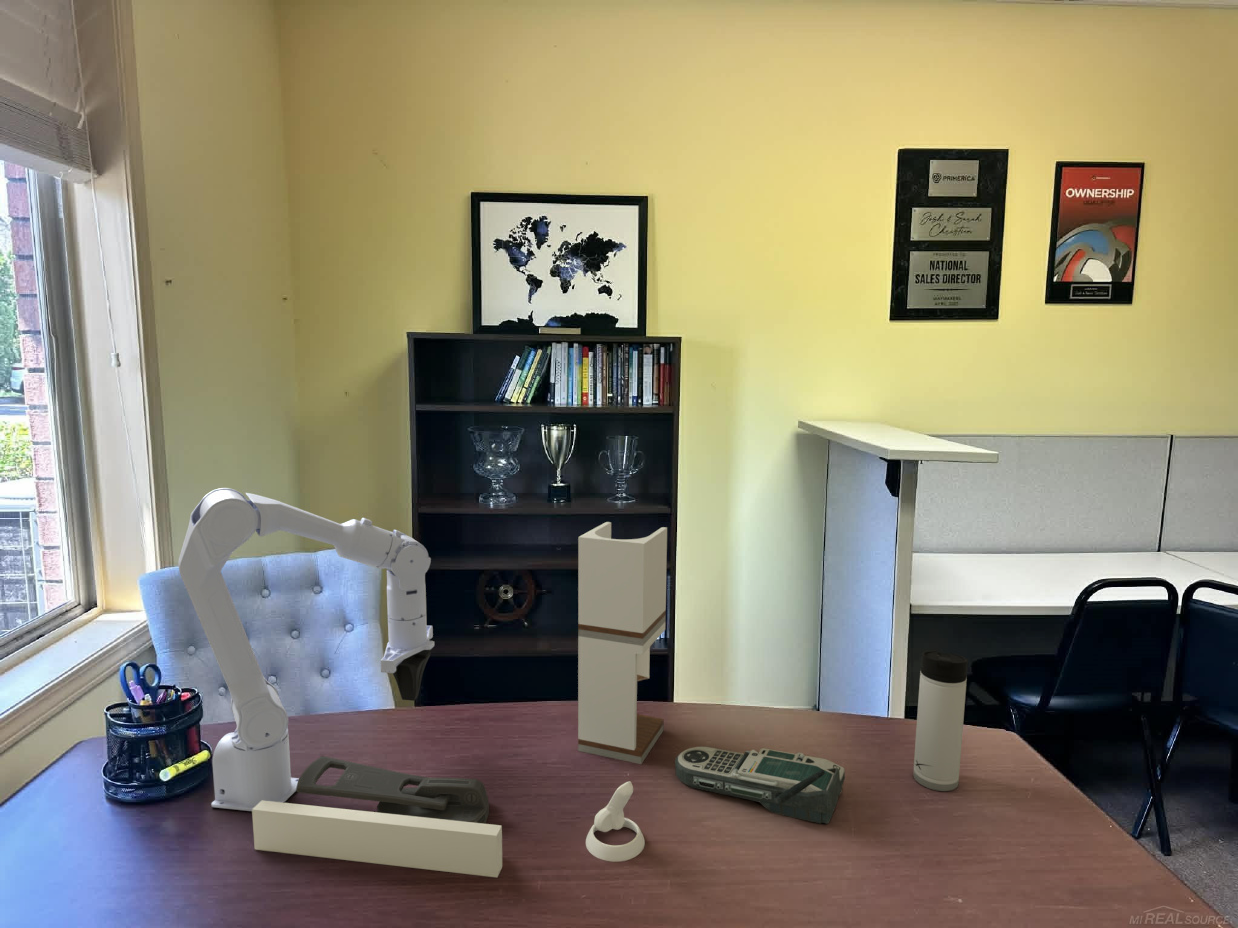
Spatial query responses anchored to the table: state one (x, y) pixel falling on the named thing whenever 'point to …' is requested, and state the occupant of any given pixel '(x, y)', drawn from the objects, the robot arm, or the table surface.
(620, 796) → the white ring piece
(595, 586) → the white square tower
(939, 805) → the table surface
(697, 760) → the communication device
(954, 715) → the travel mug
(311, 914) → the table surface
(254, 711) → the robot arm
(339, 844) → the cream rectangular bar
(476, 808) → the zipper pull
